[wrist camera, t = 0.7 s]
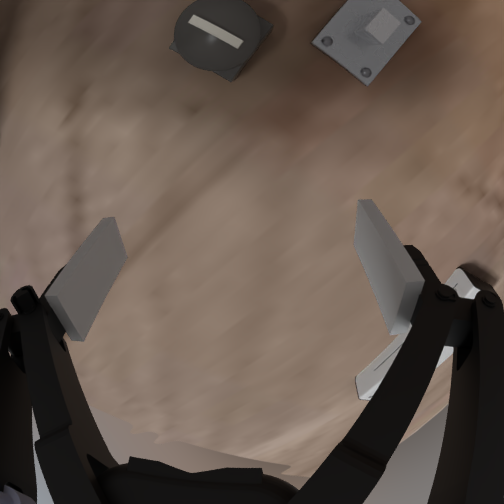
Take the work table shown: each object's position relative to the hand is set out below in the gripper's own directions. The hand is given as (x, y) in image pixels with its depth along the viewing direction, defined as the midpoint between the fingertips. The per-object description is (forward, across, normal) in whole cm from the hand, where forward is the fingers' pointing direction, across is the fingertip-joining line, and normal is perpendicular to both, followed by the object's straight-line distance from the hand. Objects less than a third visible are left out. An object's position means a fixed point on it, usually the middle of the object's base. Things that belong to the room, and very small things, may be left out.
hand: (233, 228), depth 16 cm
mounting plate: (+22, +15, +13) cm, 30 cm away
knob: (+22, -2, +12) cm, 25 cm away
